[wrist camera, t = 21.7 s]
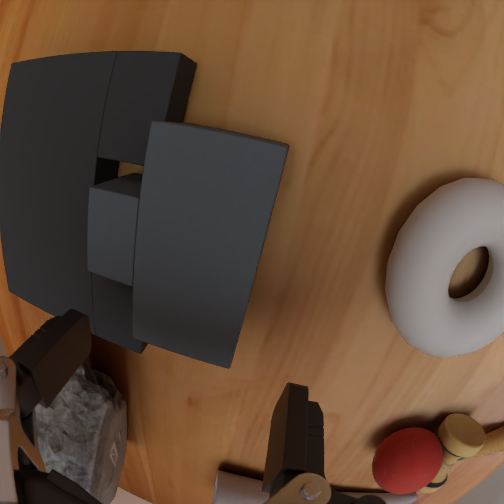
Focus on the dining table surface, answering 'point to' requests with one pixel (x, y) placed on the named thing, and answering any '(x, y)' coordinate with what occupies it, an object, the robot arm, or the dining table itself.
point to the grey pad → (188, 234)
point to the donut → (449, 269)
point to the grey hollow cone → (251, 498)
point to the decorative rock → (85, 432)
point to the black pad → (77, 170)
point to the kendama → (431, 454)
